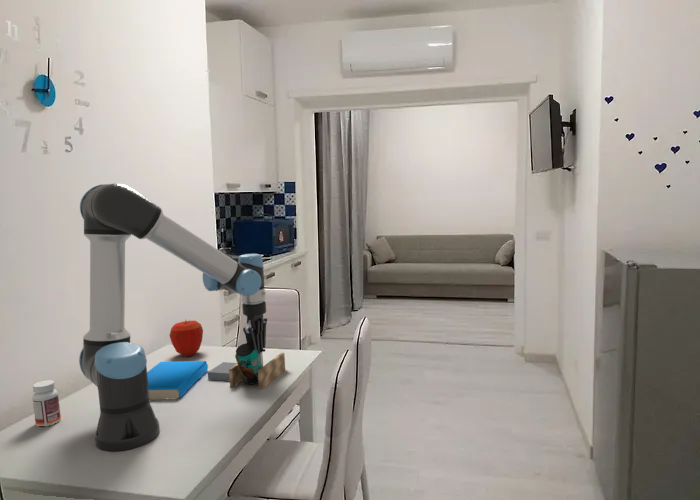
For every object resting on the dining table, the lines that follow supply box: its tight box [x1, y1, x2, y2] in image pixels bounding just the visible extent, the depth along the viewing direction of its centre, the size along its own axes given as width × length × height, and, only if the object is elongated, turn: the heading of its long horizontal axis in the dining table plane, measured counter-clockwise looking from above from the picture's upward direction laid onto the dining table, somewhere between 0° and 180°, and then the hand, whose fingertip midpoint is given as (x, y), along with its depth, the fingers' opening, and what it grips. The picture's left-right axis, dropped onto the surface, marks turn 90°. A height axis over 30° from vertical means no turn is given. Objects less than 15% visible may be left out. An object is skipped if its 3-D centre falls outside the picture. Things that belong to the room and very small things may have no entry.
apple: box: [169, 320, 204, 357], centre depth 202 cm, size 12×12×14 cm
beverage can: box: [234, 342, 262, 385], centre depth 168 cm, size 7×7×12 cm
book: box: [147, 360, 209, 400], centre depth 173 cm, size 17×4×25 cm
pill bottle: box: [32, 379, 62, 427], centre depth 147 cm, size 6×6×11 cm
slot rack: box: [229, 352, 286, 390], centre depth 174 cm, size 18×11×6 cm, turn 163°
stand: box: [207, 361, 237, 381], centre depth 179 cm, size 10×10×2 cm
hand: (259, 371), depth 175 cm, fingers closed
